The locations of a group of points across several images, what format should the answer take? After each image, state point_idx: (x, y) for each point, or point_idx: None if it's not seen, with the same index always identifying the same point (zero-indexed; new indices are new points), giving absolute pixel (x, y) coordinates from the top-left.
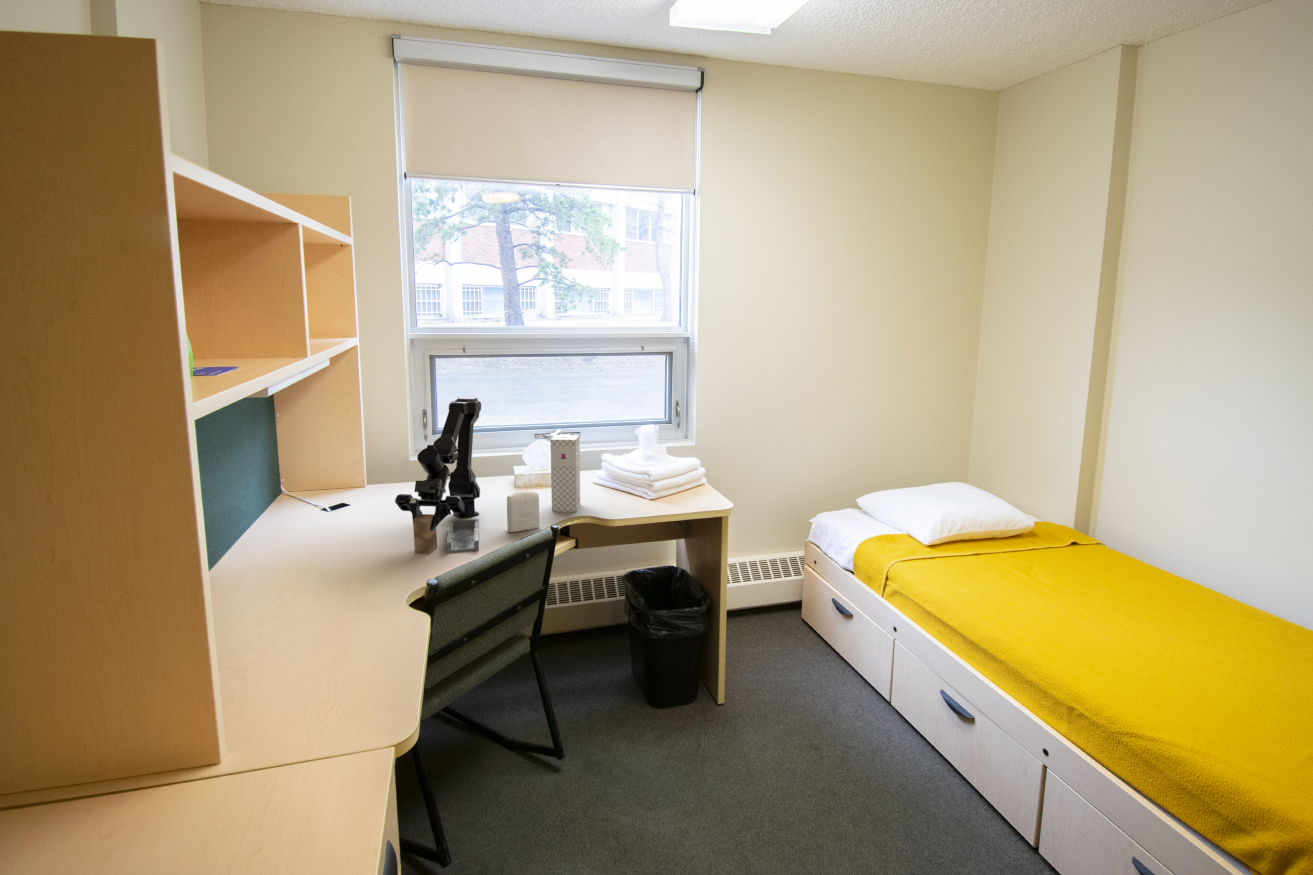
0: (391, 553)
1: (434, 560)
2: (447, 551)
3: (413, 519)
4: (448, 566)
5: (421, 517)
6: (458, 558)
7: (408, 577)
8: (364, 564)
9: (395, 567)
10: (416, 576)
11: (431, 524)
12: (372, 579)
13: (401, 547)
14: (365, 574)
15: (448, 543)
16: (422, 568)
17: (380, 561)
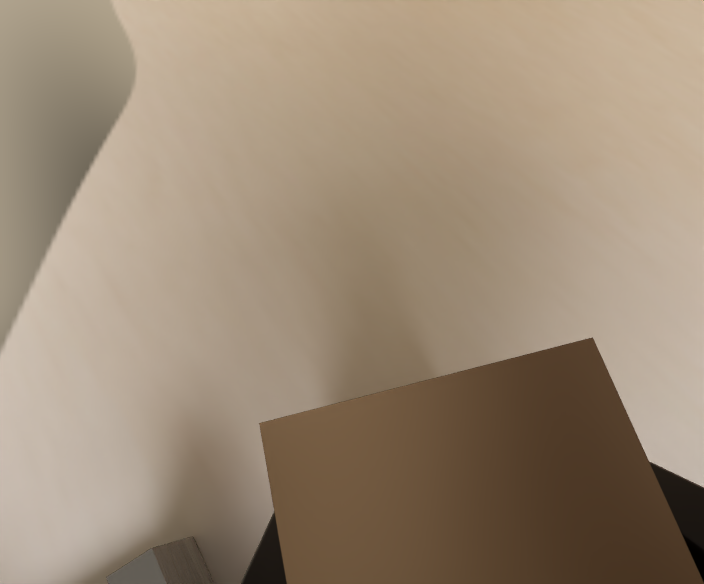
0: (638, 353)
1: (211, 346)
2: (184, 540)
3: (582, 342)
4: (54, 285)
5: (530, 532)
6: (38, 450)
7: (221, 80)
8: (624, 132)
9: (396, 159)
10: (184, 102)
11: None
12: (395, 7)
13: None
14: (484, 37)
15: (136, 558)
16: (215, 201)
17: (573, 202)
